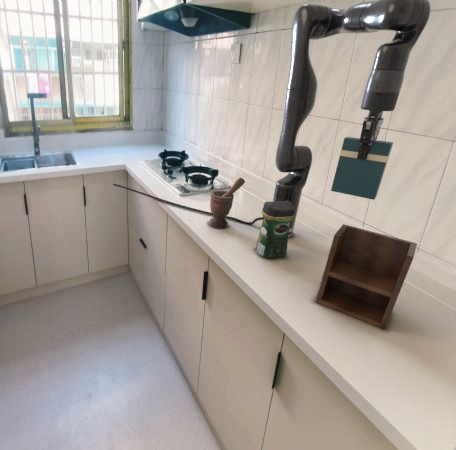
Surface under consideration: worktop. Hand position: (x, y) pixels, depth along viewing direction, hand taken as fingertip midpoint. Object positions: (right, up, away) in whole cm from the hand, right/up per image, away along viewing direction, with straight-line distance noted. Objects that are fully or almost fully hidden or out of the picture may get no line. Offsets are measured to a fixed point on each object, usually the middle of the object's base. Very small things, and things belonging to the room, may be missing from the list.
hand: (363, 158), depth 92 cm
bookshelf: (-5, -40, -3) cm, 40 cm away
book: (0, -9, +4) cm, 10 cm away
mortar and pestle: (-30, -18, +44) cm, 56 cm away
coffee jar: (-18, -28, +23) cm, 40 cm away
